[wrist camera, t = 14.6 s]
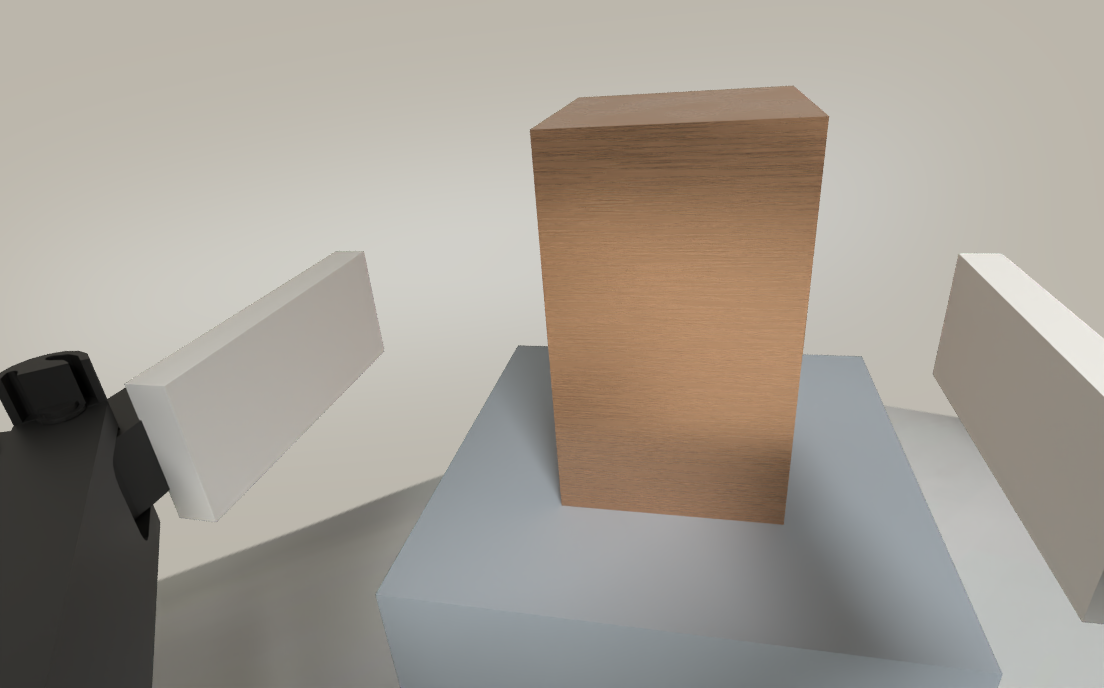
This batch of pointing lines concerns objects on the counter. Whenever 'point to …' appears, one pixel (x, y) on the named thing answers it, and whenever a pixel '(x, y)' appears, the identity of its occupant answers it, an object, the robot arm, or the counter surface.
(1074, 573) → the robot arm
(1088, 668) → the counter surface
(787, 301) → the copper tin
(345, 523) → the counter surface
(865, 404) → the stand
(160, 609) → the counter surface
